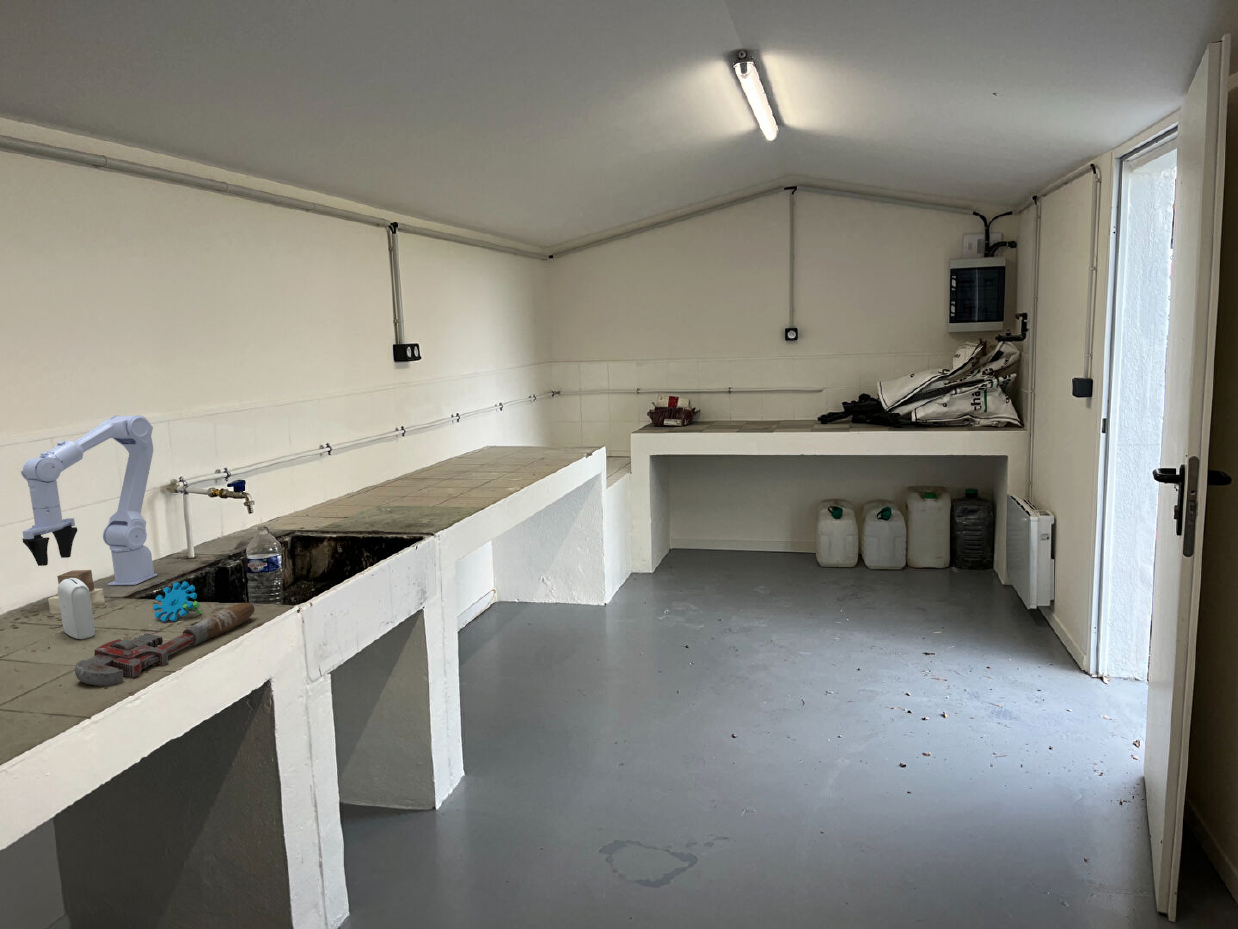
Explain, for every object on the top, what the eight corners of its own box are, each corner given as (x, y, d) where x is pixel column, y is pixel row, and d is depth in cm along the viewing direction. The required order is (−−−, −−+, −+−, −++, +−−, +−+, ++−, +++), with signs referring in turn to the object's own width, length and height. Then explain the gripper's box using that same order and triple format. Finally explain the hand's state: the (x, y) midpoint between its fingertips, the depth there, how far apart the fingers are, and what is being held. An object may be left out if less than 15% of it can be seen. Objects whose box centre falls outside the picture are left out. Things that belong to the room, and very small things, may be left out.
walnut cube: (75, 590, 218) (72, 570, 217) (94, 589, 218) (91, 569, 217) (60, 596, 213) (57, 576, 212) (80, 596, 213) (76, 575, 212)
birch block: (76, 604, 220) (74, 588, 220) (105, 604, 219) (102, 588, 218) (50, 614, 213) (48, 598, 212) (79, 615, 211) (77, 598, 210)
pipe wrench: (112, 691, 161) (108, 664, 160) (59, 686, 165) (55, 660, 164) (264, 619, 199) (261, 597, 198) (218, 617, 203) (215, 595, 202)
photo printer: (61, 632, 197) (53, 577, 195) (83, 627, 200) (75, 573, 198) (76, 641, 190) (67, 585, 188) (98, 636, 193) (90, 580, 191)
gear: (142, 615, 201) (167, 576, 206) (158, 626, 206) (181, 588, 211) (181, 624, 197) (205, 584, 203) (196, 636, 202) (219, 597, 207)
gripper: (53, 501, 226) (61, 554, 228) (7, 513, 212) (16, 569, 213) (79, 500, 225) (86, 553, 227) (34, 512, 211) (43, 568, 213)
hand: (54, 561), depth 220 cm, fingers open, 7 cm apart
